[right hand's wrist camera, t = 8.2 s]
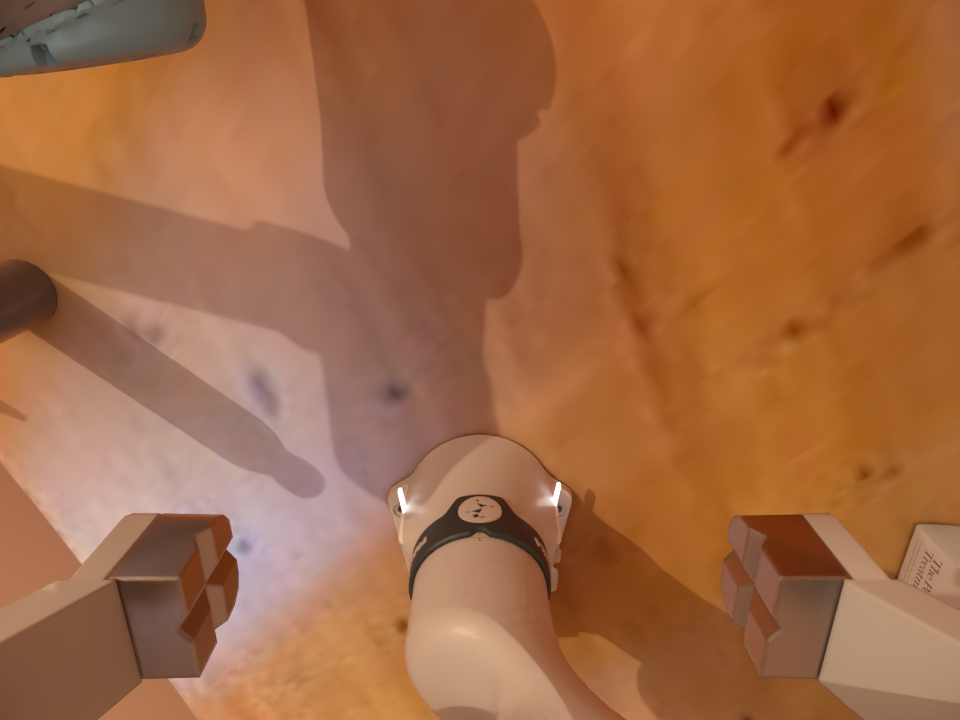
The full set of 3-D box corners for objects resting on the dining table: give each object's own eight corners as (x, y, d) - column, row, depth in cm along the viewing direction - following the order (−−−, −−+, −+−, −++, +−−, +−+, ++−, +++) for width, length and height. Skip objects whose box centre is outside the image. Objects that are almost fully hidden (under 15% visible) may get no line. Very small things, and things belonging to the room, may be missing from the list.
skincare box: (909, 521, 67) (1030, 639, 53) (961, 523, 68) (1095, 641, 53) (858, 673, 75) (950, 812, 60) (904, 674, 75) (1008, 813, 61)
